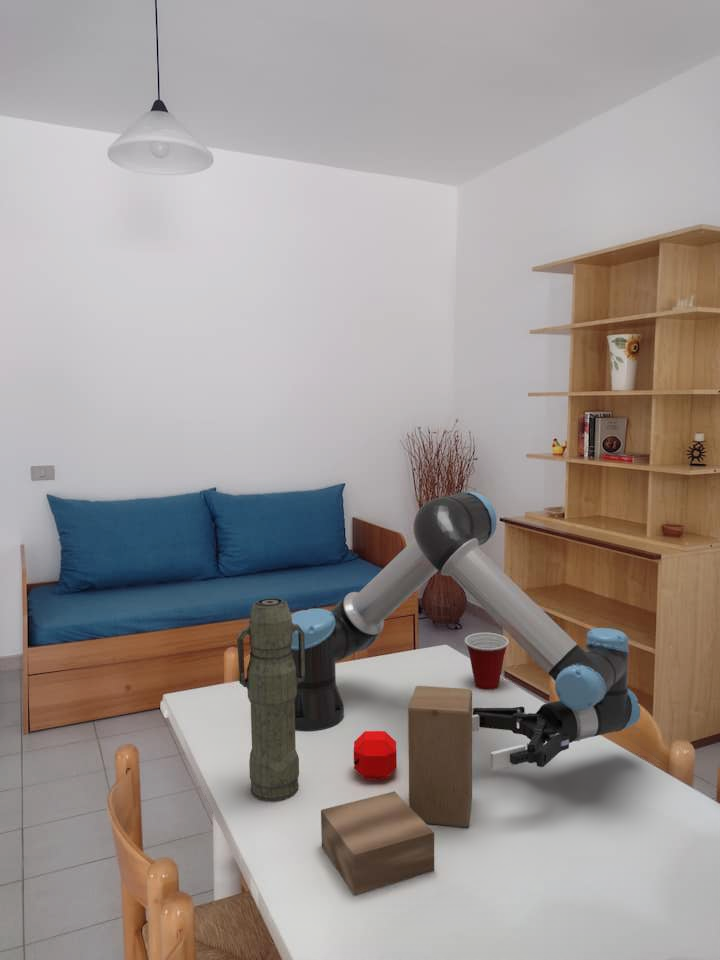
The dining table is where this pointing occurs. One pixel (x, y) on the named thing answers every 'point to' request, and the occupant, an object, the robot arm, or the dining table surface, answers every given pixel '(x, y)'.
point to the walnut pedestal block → (377, 842)
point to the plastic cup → (486, 658)
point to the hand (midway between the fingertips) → (468, 744)
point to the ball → (375, 755)
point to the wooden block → (440, 755)
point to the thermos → (272, 698)
